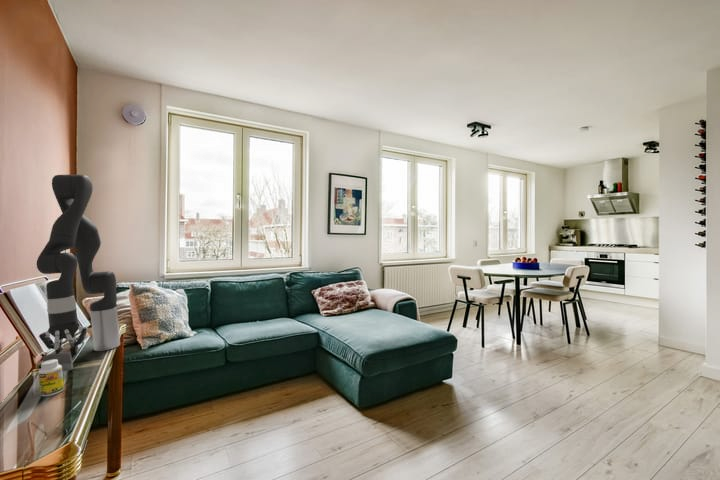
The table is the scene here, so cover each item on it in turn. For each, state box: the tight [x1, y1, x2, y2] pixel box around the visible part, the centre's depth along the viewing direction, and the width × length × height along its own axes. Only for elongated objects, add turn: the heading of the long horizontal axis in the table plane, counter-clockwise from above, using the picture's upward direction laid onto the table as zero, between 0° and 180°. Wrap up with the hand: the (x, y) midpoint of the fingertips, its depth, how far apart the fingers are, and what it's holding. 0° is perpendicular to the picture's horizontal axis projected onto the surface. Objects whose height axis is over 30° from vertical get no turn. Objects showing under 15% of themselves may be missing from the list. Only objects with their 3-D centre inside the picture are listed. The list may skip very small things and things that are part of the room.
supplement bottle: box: [38, 359, 65, 397], centre depth 108 cm, size 6×6×10 cm
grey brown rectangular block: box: [42, 342, 80, 372], centre depth 118 cm, size 13×7×6 cm, turn 23°
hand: (67, 357), depth 119 cm, fingers closed on grey brown rectangular block, 3 cm apart
